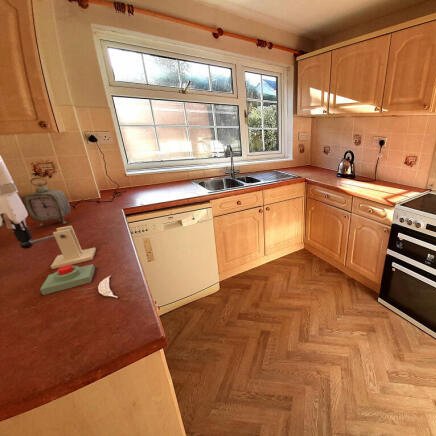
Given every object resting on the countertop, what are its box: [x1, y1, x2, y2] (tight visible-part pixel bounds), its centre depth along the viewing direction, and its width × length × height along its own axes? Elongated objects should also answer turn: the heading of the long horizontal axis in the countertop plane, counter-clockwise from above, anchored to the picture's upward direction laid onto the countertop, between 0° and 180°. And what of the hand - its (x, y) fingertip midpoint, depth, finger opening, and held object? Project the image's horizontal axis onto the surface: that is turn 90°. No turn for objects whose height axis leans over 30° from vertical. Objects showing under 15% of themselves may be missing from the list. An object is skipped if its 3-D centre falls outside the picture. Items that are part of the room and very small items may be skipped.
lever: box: [19, 229, 68, 250], centre depth 89 cm, size 14×3×3 cm, turn 120°
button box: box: [39, 263, 96, 296], centre depth 81 cm, size 12×9×4 cm
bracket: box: [50, 225, 97, 270], centre depth 93 cm, size 12×9×13 cm
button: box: [57, 264, 74, 275], centre depth 80 cm, size 4×4×2 cm
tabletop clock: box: [22, 177, 72, 228], centre depth 125 cm, size 14×9×25 cm, turn 102°
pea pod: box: [97, 275, 119, 299], centre depth 76 cm, size 15×4×2 cm, turn 39°
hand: (25, 239), depth 86 cm, fingers closed
